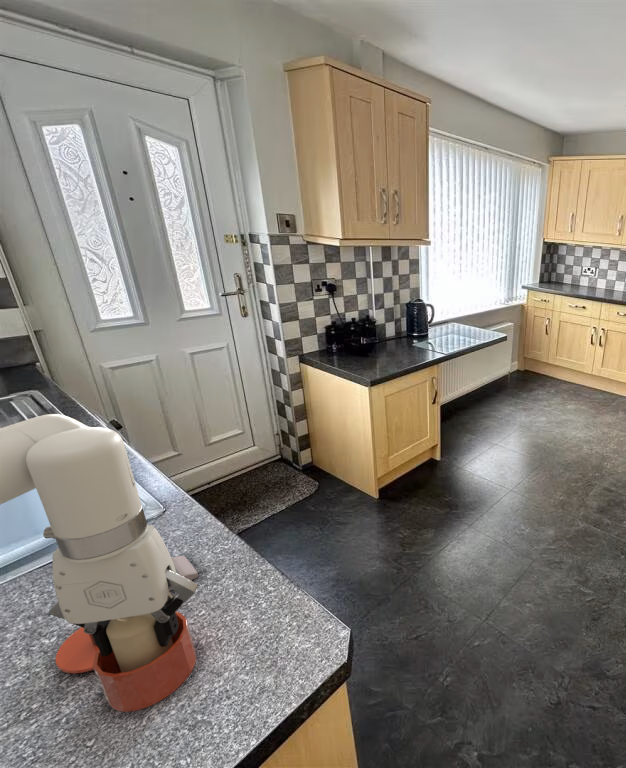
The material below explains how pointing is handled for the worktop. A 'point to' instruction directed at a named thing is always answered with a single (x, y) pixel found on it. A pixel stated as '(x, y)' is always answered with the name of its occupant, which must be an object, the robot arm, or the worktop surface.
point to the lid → (77, 653)
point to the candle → (135, 641)
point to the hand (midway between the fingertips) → (141, 640)
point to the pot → (147, 674)
